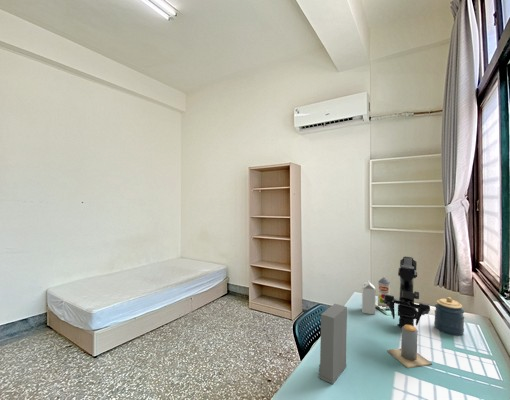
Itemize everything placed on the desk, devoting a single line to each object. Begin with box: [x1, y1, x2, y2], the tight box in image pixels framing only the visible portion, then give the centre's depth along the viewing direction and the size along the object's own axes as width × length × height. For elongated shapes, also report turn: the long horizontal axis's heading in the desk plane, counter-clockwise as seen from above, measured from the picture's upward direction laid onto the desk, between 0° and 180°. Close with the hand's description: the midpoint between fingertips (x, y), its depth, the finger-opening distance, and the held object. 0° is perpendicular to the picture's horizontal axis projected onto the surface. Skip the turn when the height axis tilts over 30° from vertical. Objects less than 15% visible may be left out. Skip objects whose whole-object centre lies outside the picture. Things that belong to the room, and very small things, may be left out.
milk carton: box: [361, 279, 377, 315], centre depth 164 cm, size 7×7×19 cm
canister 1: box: [400, 325, 419, 361], centre depth 116 cm, size 6×6×13 cm
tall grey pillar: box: [317, 303, 348, 385], centre depth 106 cm, size 14×6×25 cm, turn 141°
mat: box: [387, 348, 433, 369], centre depth 116 cm, size 12×12×1 cm
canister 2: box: [433, 296, 465, 336], centre depth 142 cm, size 13×13×18 cm
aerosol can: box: [377, 276, 391, 309], centre depth 169 cm, size 7×7×20 cm
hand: (405, 322), depth 122 cm, fingers open, 9 cm apart
